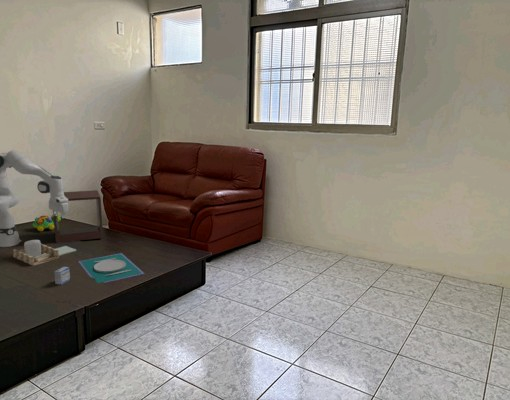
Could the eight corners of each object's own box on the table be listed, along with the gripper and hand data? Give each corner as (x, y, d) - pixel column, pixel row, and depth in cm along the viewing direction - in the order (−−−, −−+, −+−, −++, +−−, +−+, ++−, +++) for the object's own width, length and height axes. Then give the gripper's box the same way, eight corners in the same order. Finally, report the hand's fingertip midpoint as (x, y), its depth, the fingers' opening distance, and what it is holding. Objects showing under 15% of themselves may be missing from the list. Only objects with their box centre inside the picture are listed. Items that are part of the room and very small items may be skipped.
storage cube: (100, 228, 340) (97, 190, 333) (103, 237, 315) (100, 196, 307) (56, 232, 325) (53, 192, 318) (55, 242, 300) (52, 199, 292)
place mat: (78, 262, 264) (77, 259, 264) (121, 254, 282) (121, 251, 282) (96, 285, 230) (96, 282, 229) (144, 274, 248) (144, 271, 247)
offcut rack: (13, 257, 268) (12, 249, 266) (39, 250, 283) (38, 242, 281) (32, 266, 254) (31, 257, 252) (59, 258, 269) (58, 250, 267)
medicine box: (61, 285, 227) (60, 272, 225) (55, 284, 228) (54, 271, 226) (70, 280, 235) (69, 266, 233) (63, 279, 235) (62, 266, 233)
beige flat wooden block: (31, 263, 259) (31, 260, 259) (46, 257, 270) (46, 255, 270) (37, 264, 258) (36, 262, 257) (52, 259, 269) (51, 256, 268)
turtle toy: (64, 227, 339) (63, 215, 337) (35, 232, 323) (34, 219, 321) (57, 223, 351) (56, 211, 348) (29, 228, 335) (28, 215, 332)
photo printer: (41, 254, 275) (39, 238, 272) (42, 256, 272) (40, 239, 269) (24, 257, 269) (22, 240, 266) (25, 259, 265) (24, 242, 263)
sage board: (47, 251, 280) (47, 250, 280) (65, 246, 292) (65, 245, 291) (58, 256, 273) (58, 255, 272) (76, 250, 284) (76, 249, 284)
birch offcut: (33, 260, 260) (33, 257, 259) (45, 255, 269) (45, 253, 268) (38, 261, 258) (38, 258, 258) (49, 256, 268) (49, 253, 267)
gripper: (45, 197, 276) (47, 215, 279) (61, 201, 265) (62, 220, 268) (54, 195, 281) (55, 213, 284) (69, 199, 270) (71, 218, 273)
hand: (59, 216), depth 276 cm, fingers open, 8 cm apart
